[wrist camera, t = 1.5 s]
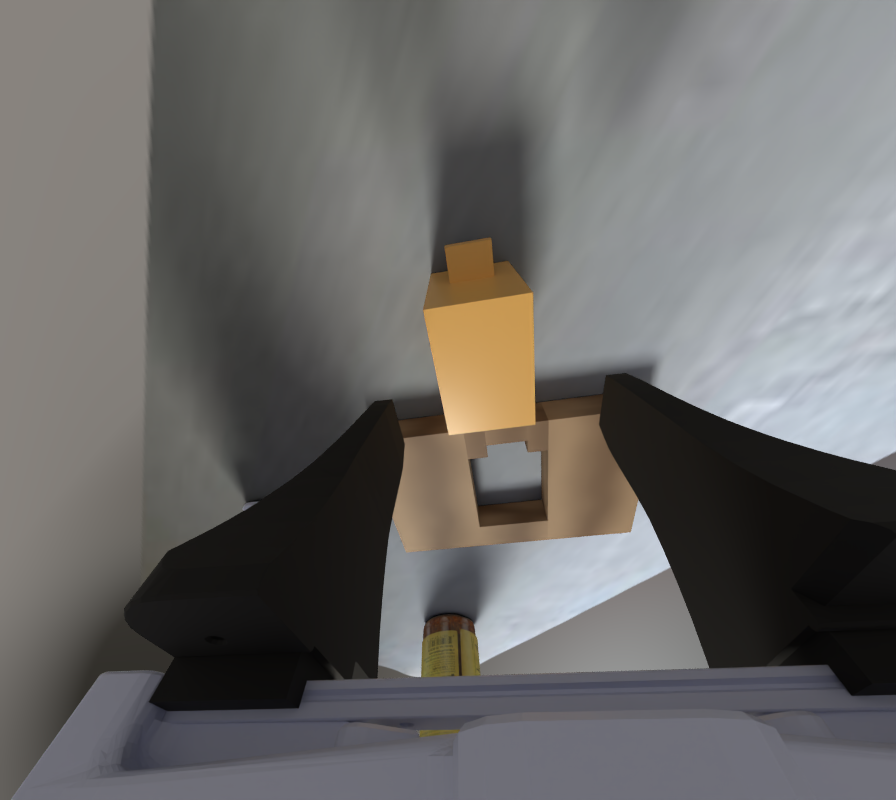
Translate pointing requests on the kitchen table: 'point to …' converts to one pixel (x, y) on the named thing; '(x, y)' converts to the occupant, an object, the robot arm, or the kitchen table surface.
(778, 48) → the kitchen table surface
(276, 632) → the robot arm
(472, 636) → the sauce bottle
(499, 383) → the block
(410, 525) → the pocket board
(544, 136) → the kitchen table surface
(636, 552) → the kitchen table surface
